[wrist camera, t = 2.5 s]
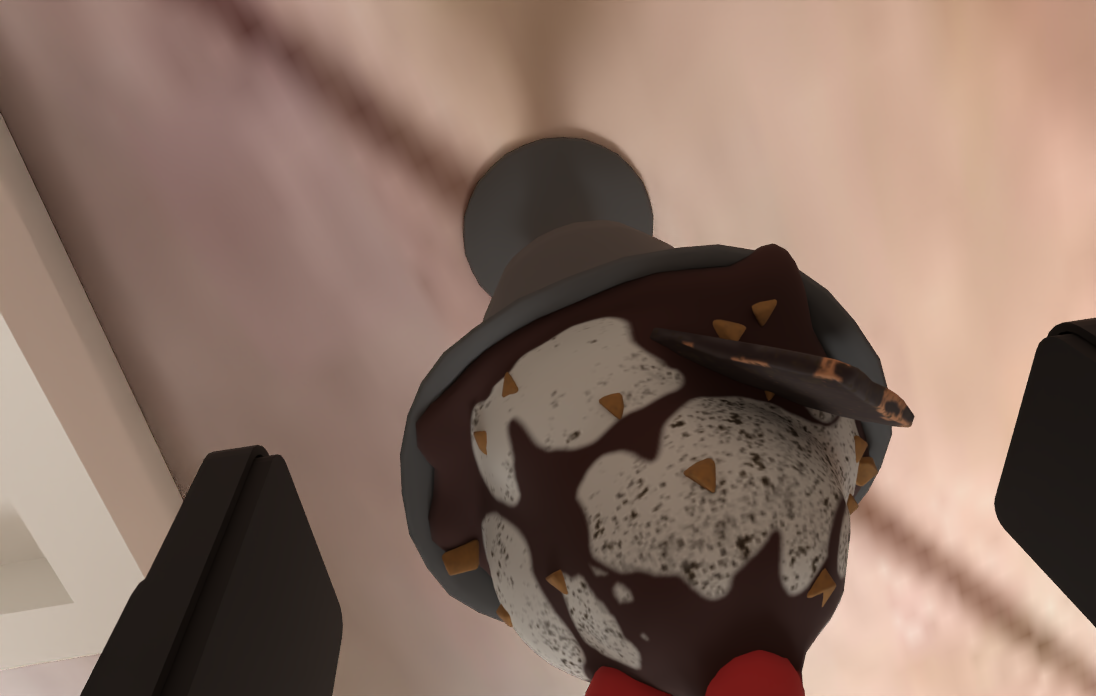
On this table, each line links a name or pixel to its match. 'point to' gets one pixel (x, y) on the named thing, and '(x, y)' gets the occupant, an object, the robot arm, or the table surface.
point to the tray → (65, 449)
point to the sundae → (642, 439)
